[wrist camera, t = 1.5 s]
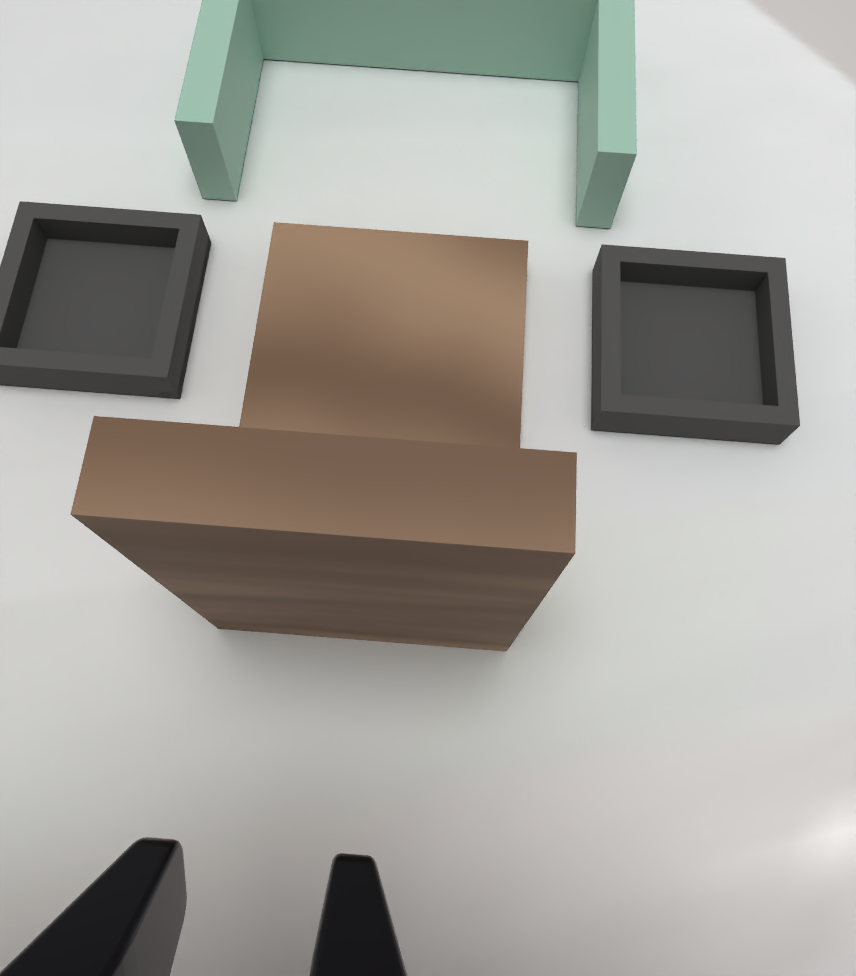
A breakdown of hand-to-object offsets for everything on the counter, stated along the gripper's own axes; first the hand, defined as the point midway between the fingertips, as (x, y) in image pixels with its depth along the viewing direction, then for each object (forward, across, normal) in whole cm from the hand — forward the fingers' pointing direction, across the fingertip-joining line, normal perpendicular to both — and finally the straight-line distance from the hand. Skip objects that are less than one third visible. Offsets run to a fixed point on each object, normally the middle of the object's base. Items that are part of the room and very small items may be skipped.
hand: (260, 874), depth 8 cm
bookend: (+14, 0, +1) cm, 14 cm away
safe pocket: (+22, 0, -7) cm, 23 cm away
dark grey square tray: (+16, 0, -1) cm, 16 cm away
